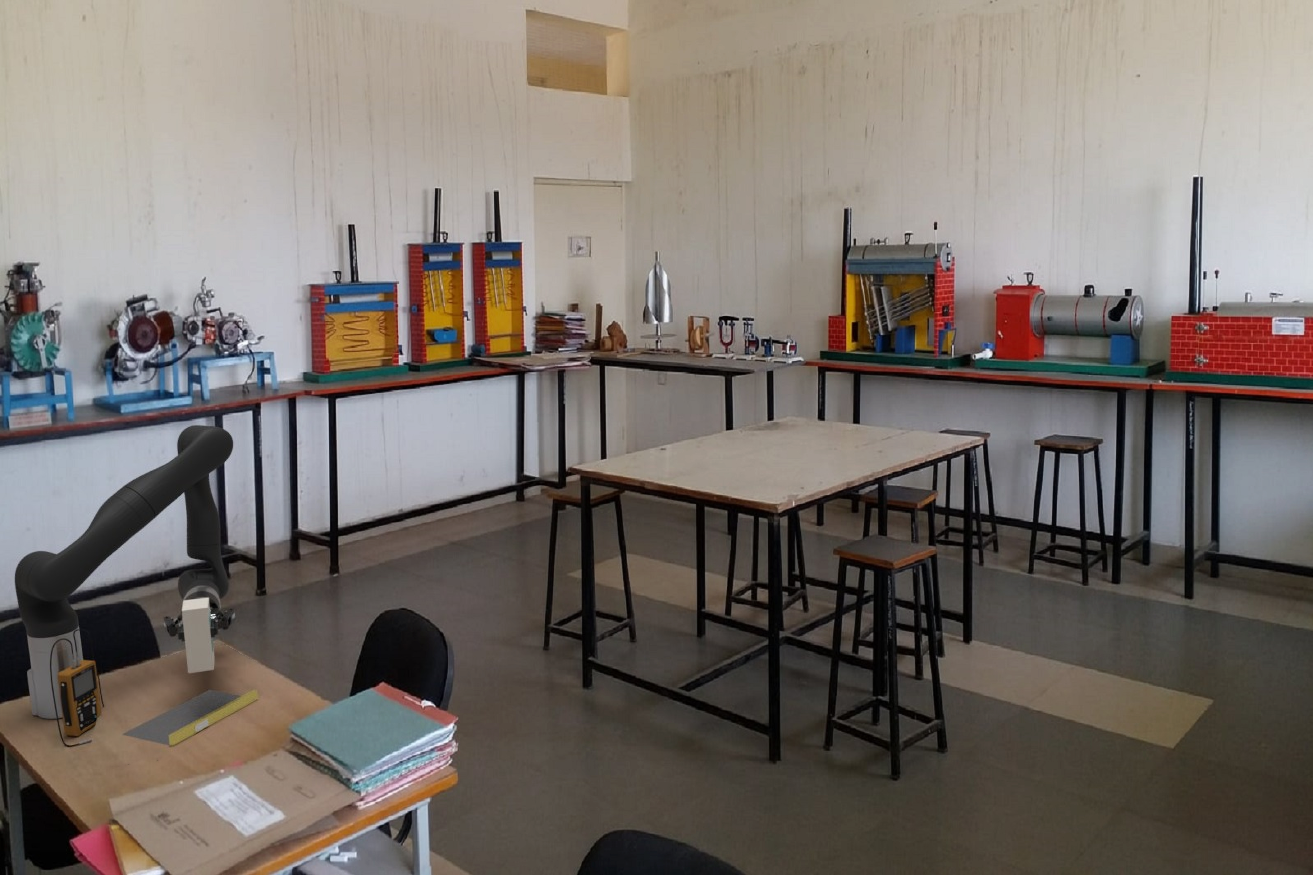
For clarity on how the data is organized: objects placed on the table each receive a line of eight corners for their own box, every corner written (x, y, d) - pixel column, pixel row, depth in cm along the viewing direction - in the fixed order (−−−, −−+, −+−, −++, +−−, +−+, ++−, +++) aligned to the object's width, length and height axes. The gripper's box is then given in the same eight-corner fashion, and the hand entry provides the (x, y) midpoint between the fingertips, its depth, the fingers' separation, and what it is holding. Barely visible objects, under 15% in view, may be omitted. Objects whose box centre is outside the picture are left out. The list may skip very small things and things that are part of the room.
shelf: (122, 741, 206) (120, 724, 205) (210, 696, 225) (208, 680, 225) (174, 753, 201) (172, 736, 200) (259, 706, 220) (257, 690, 220)
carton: (188, 673, 212) (181, 610, 209) (189, 661, 218) (183, 600, 215) (214, 669, 213) (208, 607, 211) (215, 657, 219) (209, 597, 217)
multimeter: (96, 750, 202) (84, 650, 199) (50, 745, 204) (37, 646, 201) (147, 716, 217) (136, 622, 213) (103, 712, 219) (92, 619, 215)
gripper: (162, 595, 224) (156, 621, 208) (235, 586, 229) (235, 611, 213) (165, 629, 225) (160, 658, 210) (238, 619, 230) (238, 647, 215)
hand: (198, 634), depth 212 cm, fingers closed on carton, 4 cm apart
